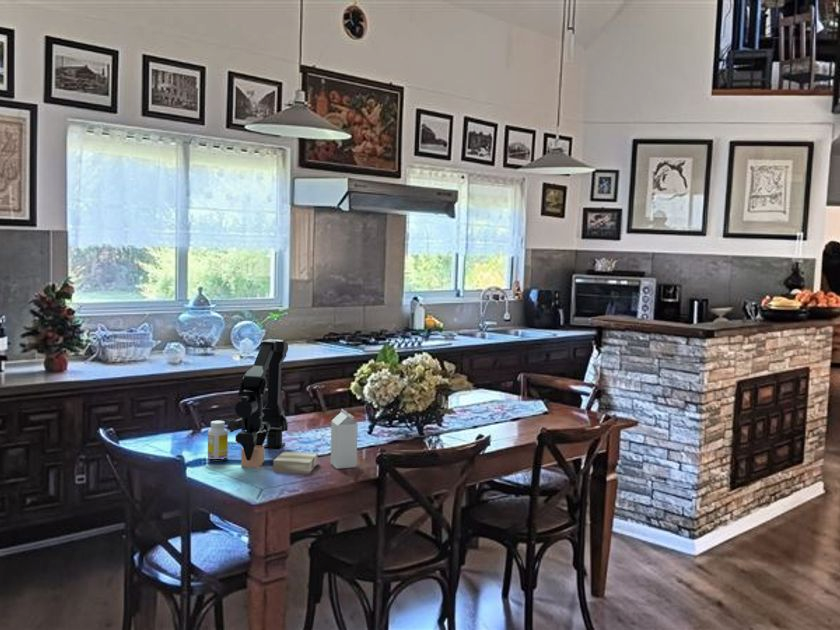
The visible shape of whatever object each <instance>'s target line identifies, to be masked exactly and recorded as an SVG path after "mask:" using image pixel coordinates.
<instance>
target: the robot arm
mask: <svg viewBox="0 0 840 630" xmlns="http://www.w3.org/2000/svg"><path fill="white" fill-rule="evenodd" d="M259 346H260V348H259V350H258V354H257V355H256V358H255V360H254V362H253V365H252V367H251V368H250V369H248V370H247V371H245V373H244V375H243V376H242V378H241V382H240V386H239V391H238V397H240V401H238V402H237V403H236V405H235V407H234V410H235V414H236V415H237V416H238V417H240V418H237V419H235V418H233V419H232V420H231V419H230V420H228V421H227V425H226V430H229V432H230V433H233V432H235V431H238V430H241V431H239V432H238V433H237V434H235V442H237V443H238V444H240V445H241V446H242V448H243V449H244V452H245V456H246V459H247V460H250V459H251V457H252V454H253V451H254V448H255V445H262V446H264V447H270V448H269V449H279V448H280V449H282V448H283V447H284V446H285V445H286V442H283V433H284V432H287V431H288V429H289V428H288V427H289V423H288V419H287V417H286V415H285V409H284V408H283V407H284V406H282V403H281V387H282V364H283V362H284V361H285V359H286V357H287V353H288V350H289V344H288V342H286V340H285V339H277V338H267V339H264V340H261V341H260V345H259ZM267 370H268V375H267V378H266V374H267ZM266 391H267V398H266V399H267V400H266V401H267V402H266V405H265V406H264V407H263V396H264V395H265V393H266ZM265 441H266V443H265ZM264 443H265V444H264Z"/></svg>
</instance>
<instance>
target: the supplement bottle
mask: <svg viewBox="0 0 840 630" xmlns="http://www.w3.org/2000/svg"><path fill="white" fill-rule="evenodd" d="M225 425H226V422H225V421H224V420H212V421H210V429H208V430H207V459H208V460H210V459H222V458H225V457H227V458H228V455H229V454H228V452H229V451H228V445H229V444H228V443H229V440H228V433H229V432H228V429H227V428H225Z"/></svg>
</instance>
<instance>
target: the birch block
mask: <svg viewBox="0 0 840 630" xmlns="http://www.w3.org/2000/svg"><path fill="white" fill-rule="evenodd" d="M272 462H273V464H272V468H273V469H272V471H273V472H276V473H277V472H279V473H291V474H307V475H309V474H310V473H312V470H314V469H315V467H317V465H318V464H319V454H318V453H316V452H300V451H288V450H287V451H285V450H284V451H283V452H281V453H280V454H279V455H278V456H277V457H275V459H273V461H272Z"/></svg>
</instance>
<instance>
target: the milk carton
mask: <svg viewBox="0 0 840 630" xmlns="http://www.w3.org/2000/svg"><path fill="white" fill-rule="evenodd" d="M354 418H355V417H354V415H352V414H351V413H348V412H347V411H346V410H344V409H343V408H341V410H340V412H339V414H337V415H336V416H335V417H334V418H333V419H332V420H331V422H330V423H331V431H330V464H331V465H332V466H333V467H334V468H335V469H351V468H357V467H358V466H357V465H358V462H357V461H358V458H357V457H358V423H357V422H356V421H355V420H354Z"/></svg>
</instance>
